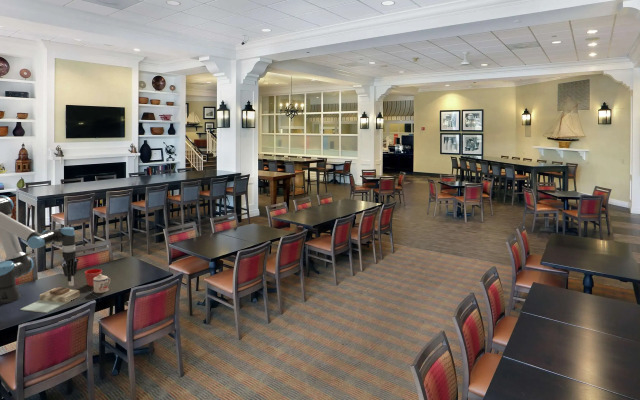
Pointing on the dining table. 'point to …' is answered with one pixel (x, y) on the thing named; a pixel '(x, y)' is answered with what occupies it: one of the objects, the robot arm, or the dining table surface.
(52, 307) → the sage mat
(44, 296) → the birch deck
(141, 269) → the dining table surface
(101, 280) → the teacup with lid
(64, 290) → the walnut tile
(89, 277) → the flower pot
